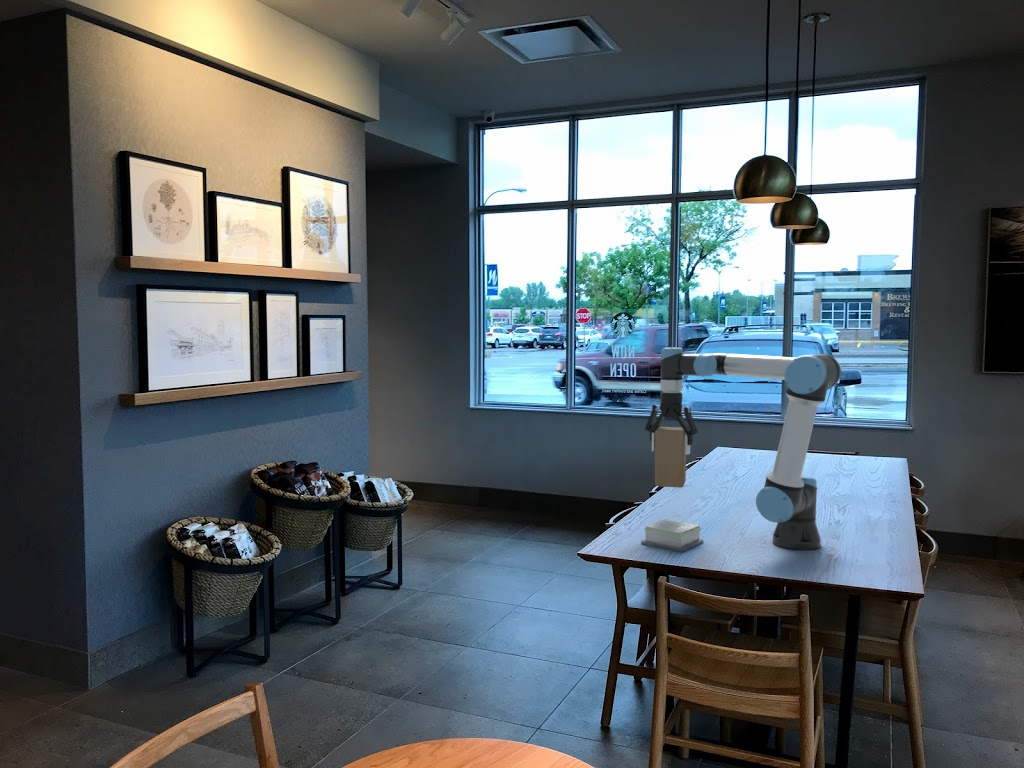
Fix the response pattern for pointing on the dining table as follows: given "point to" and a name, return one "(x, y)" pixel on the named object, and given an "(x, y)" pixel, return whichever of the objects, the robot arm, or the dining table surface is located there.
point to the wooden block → (670, 457)
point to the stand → (672, 535)
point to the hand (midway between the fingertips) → (670, 452)
